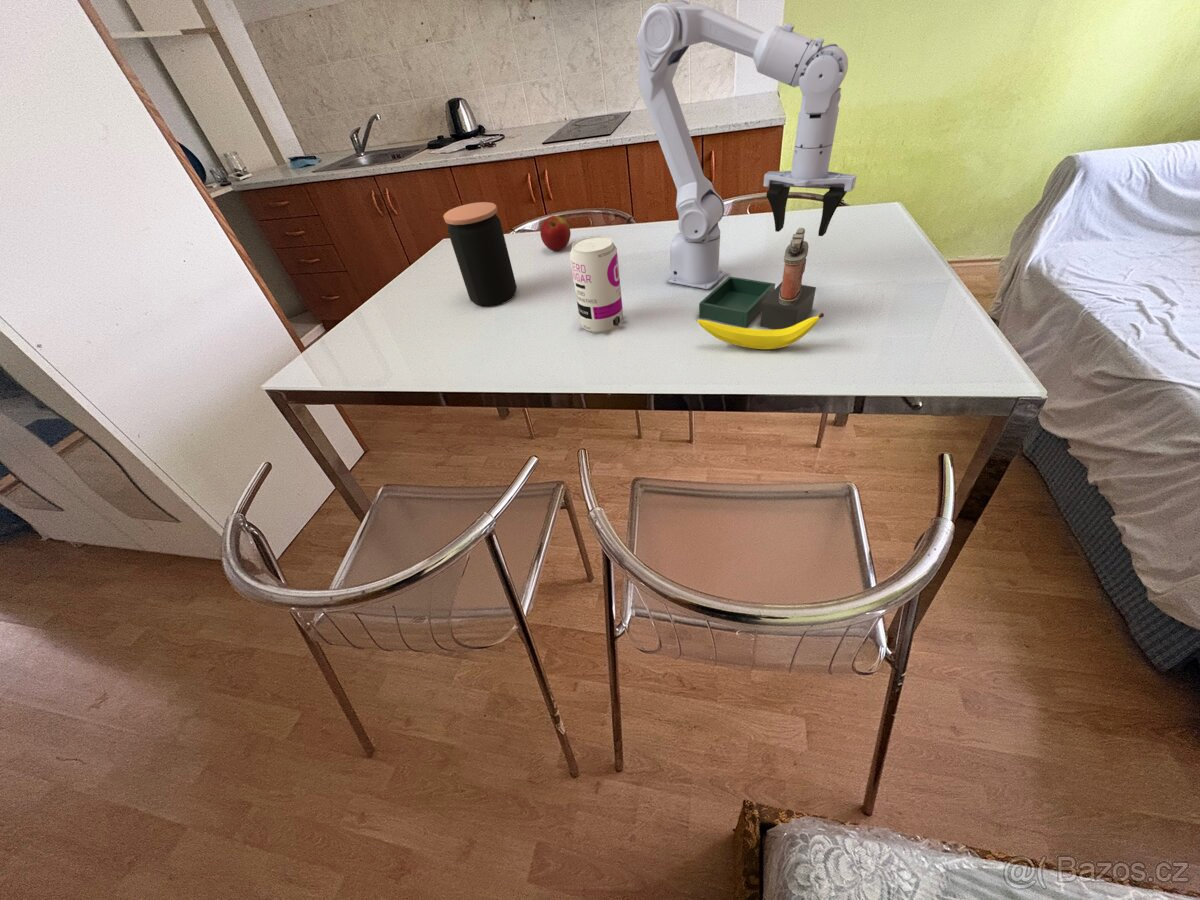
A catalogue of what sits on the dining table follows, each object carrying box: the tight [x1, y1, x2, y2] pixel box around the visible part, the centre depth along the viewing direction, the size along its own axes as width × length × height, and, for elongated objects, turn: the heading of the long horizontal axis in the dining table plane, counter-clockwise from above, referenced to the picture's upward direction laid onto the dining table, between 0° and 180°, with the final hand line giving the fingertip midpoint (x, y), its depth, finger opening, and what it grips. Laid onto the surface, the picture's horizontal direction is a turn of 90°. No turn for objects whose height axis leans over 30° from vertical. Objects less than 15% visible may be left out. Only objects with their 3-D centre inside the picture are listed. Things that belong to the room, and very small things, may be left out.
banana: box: [696, 312, 825, 350], centre depth 77 cm, size 3×19×6 cm, turn 75°
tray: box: [698, 275, 776, 328], centre depth 89 cm, size 9×12×3 cm
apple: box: [539, 215, 571, 252], centre depth 121 cm, size 8×8×8 cm
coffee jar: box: [442, 201, 518, 308], centre depth 101 cm, size 11×11×18 cm
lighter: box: [779, 227, 810, 305], centre depth 79 cm, size 8×3×10 cm, turn 155°
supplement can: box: [569, 235, 624, 334], centre depth 87 cm, size 8×8×15 cm
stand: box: [759, 281, 817, 330], centre depth 84 cm, size 6×8×4 cm
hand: (800, 231), depth 86 cm, fingers open, 7 cm apart
